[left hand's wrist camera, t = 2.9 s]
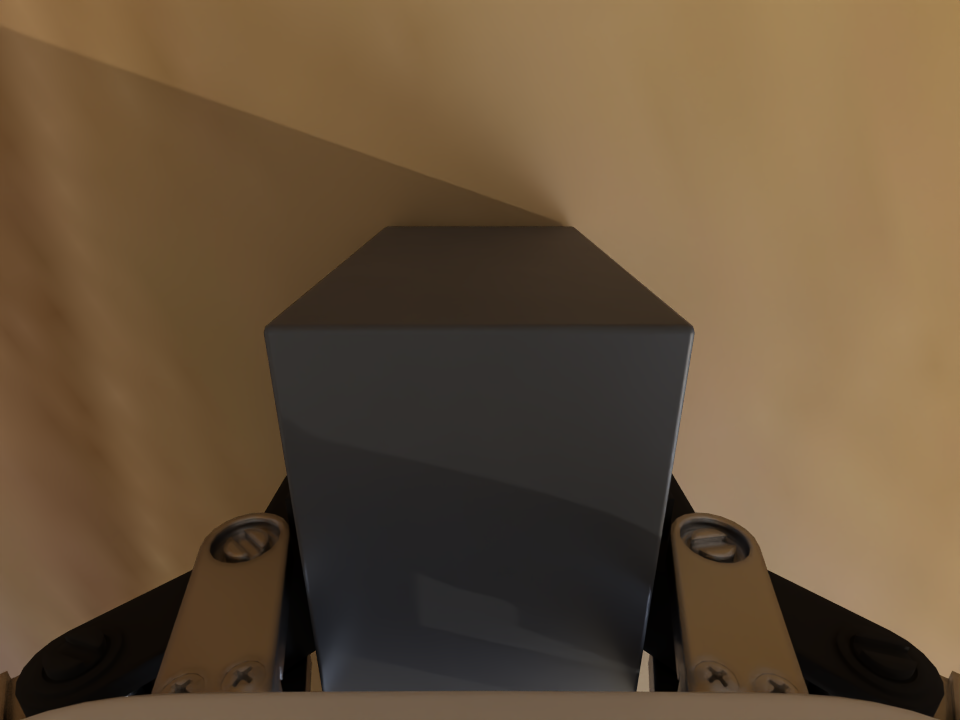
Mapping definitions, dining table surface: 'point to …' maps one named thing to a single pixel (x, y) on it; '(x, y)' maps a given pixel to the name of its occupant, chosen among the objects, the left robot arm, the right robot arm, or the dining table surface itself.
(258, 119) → the dining table surface
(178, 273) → the dining table surface
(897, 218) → the dining table surface
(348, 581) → the beam
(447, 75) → the dining table surface
